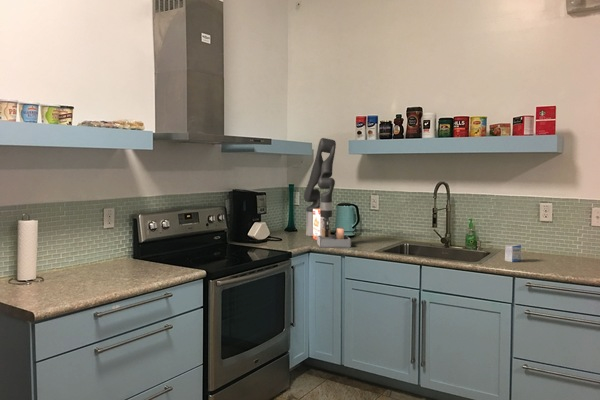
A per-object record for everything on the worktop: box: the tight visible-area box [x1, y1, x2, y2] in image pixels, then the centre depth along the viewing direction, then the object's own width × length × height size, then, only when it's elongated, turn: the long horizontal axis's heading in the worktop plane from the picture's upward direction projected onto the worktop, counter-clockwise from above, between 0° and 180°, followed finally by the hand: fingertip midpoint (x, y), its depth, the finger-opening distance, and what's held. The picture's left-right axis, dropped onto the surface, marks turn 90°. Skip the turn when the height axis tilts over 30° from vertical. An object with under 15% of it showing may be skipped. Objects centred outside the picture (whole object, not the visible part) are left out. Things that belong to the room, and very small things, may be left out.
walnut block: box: [322, 228, 332, 238], centre depth 318 cm, size 5×5×5 cm
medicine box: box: [504, 243, 522, 263], centre depth 272 cm, size 8×4×9 cm, turn 122°
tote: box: [316, 234, 352, 249], centre depth 319 cm, size 17×19×5 cm
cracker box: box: [312, 208, 324, 241], centre depth 337 cm, size 14×6×21 cm, turn 19°
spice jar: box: [335, 227, 345, 239], centre depth 319 cm, size 5×5×10 cm
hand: (326, 236), depth 318 cm, fingers closed on walnut block, 5 cm apart
